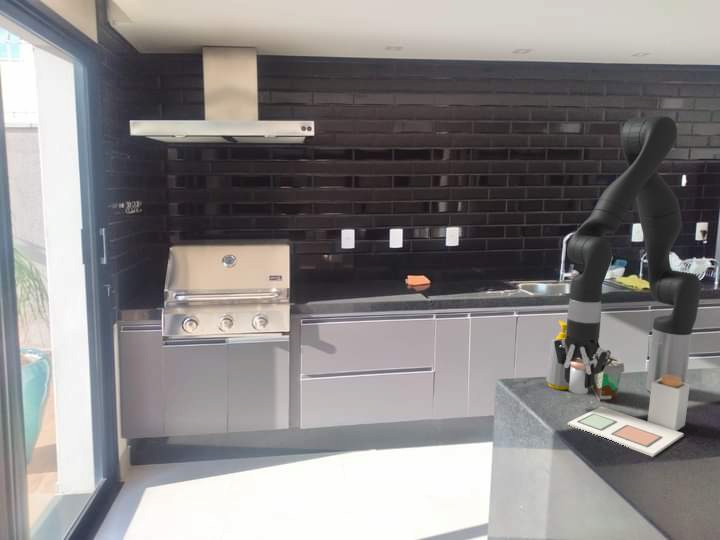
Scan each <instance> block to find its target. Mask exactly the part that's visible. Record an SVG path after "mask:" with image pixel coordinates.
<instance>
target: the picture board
mask: <svg viewBox="0 0 720 540" xmlns="http://www.w3.org/2000/svg"><path fill="white" fill-rule="evenodd" d="M569 425H570V426H569ZM567 426H569V427H571V426H572V427H571V428H574V427H575V428H574V429H577V428H578V429H577V430H579V429H581V430H580V431H582V430H584V431H583V432H585V431H587V432H590V433H592V434H591V435H593V434H595V435H594V436H596V435H598V436H601V437H604V438H607V439H609V440H612V441H614V442H617V443H619V444H618V445H620V444H621V445H620V446H622V445H624V446H623V447H625V446H626V447H625V448H628V447H629V448H628V449H631V450H634V451H636V452H638V453H642V454H644V455H647V456H650V457H652V458H653V457H655V456H656V455H658V454H659V453H661V452H662V451H663V450H665V449H666V448H668V447H669V446H671V445H673V443H675V442H677V441H678V440H680V439H681V438H683V437H684V433H683V432H681V431H678V430H677V431H675V430H672V429H669V428H666V427H663V426H660V425H657V424H653V423H650V422H648V420H647V421H646V420H644V419H641V418H637V417H635V416H631V415H628V414H626V413H622V412H620V411H616V410H614V409H611V408H607V407H604V406H599V407H598V408H595V409H593V410H591V411H588V412H587V413H584V414H583V415H580V416H579V417H576V418H574V419H573V420H570V421H569V422H567ZM587 432H586V433H587ZM590 433H589V434H590ZM598 436H597V437H598ZM601 437H600V438H601ZM604 438H603V439H604ZM609 440H608V441H609ZM612 441H611V442H612ZM614 442H613V443H614ZM617 443H616V444H617Z"/></svg>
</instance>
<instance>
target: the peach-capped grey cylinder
mask: <svg viewBox="0 0 720 540" xmlns="http://www.w3.org/2000/svg"><path fill="white" fill-rule="evenodd" d="M570 366H571V368H570V381H569V389H568V391H569V392H571V393H574V394H577V395H578V394H579V395H586V394H588V393H589V389H587V388H585V377H586V374H587V372H586V367H585V365H584V363H583V360H582V359H580V358H577V359H574V360H572V361H571V362H570Z"/></svg>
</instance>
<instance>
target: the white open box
mask: <svg viewBox="0 0 720 540" xmlns="http://www.w3.org/2000/svg"><path fill="white" fill-rule="evenodd" d="M661 379H662V378H660V379H658V380H656V381H654V382H652V387H651V392H650V398H649V405H648V413H647V414H648V415H647V422H650V423H653V424H657V425H660V426H663V427H666V428H669V429H672V430H675V431H678V430H680V429H681V428H683V427H685V426H686V419H687V411H688V410H687V409H688V405H689V404H688V403H689V393H690V386H691V384H689V383H687V382H686V383H682V382H681V387H680V388H678V389H677V388H674V387H670V386H666V385H663V384H661Z"/></svg>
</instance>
